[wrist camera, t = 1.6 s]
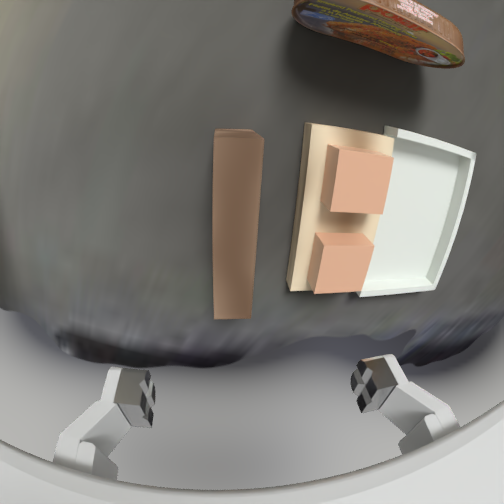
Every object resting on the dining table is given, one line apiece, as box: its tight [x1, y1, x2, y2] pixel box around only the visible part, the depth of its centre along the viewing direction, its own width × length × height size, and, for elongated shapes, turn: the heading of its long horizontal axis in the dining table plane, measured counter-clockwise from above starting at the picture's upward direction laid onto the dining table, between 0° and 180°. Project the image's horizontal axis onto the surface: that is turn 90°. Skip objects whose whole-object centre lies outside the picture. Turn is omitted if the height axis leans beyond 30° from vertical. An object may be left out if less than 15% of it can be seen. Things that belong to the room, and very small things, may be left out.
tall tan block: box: [213, 129, 264, 319], centre depth 22 cm, size 3×14×7 cm, turn 177°
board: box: [286, 122, 395, 291], centre depth 25 cm, size 8×16×2 cm, turn 177°
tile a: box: [320, 144, 394, 215], centre depth 22 cm, size 5×5×2 cm
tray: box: [356, 125, 476, 297], centre depth 27 cm, size 12×18×2 cm, turn 177°
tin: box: [292, 0, 465, 68], centre depth 14 cm, size 15×3×8 cm, turn 84°
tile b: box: [307, 232, 375, 294], centre depth 25 cm, size 5×5×2 cm
